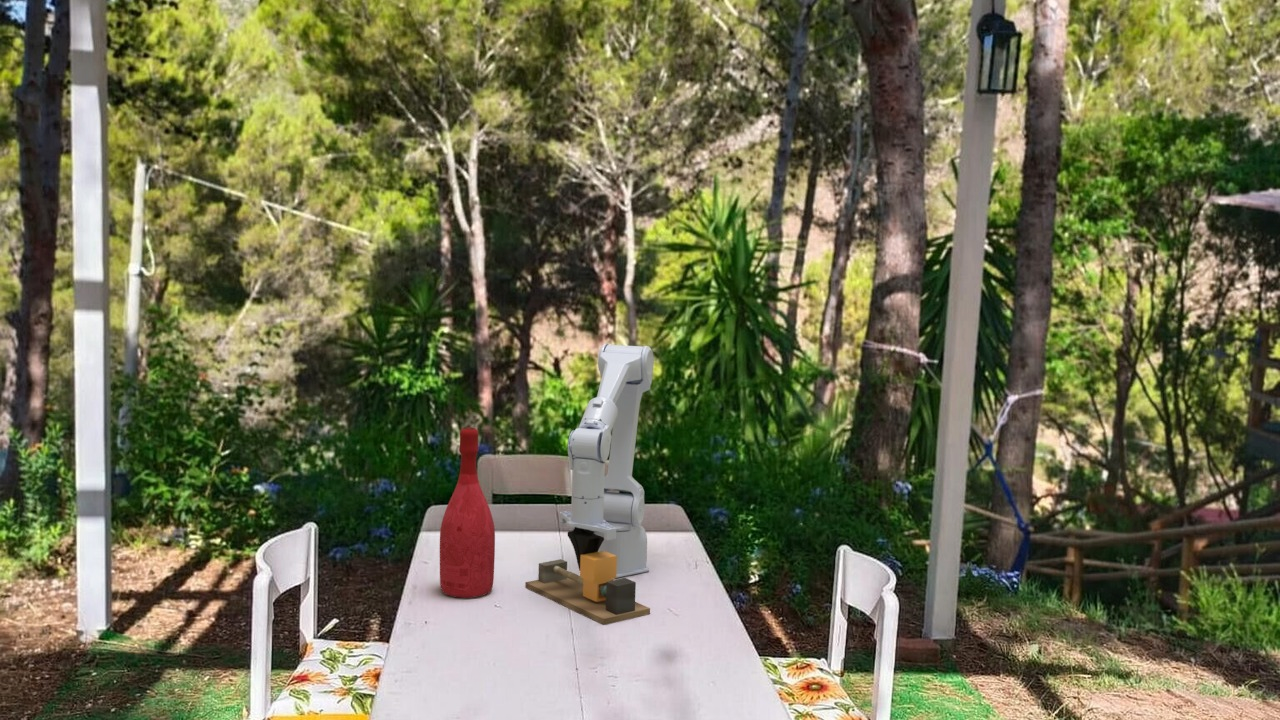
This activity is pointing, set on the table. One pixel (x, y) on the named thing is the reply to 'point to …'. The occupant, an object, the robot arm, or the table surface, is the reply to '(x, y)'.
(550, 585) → the cord rig
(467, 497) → the wine bottle
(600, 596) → the orange notched block
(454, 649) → the table surface
